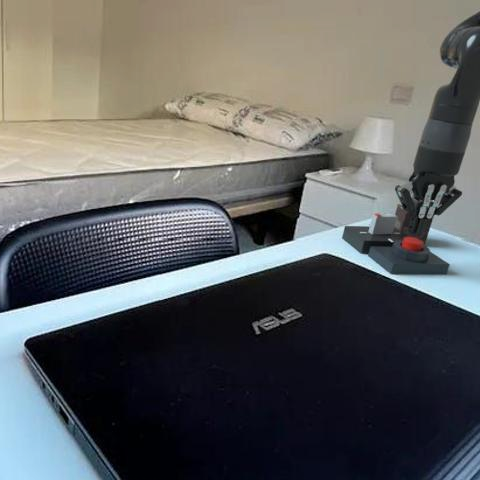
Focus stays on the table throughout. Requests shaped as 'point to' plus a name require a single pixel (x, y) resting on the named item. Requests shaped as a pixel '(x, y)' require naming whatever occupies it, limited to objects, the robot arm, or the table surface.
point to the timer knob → (382, 224)
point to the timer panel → (369, 238)
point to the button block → (407, 260)
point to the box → (404, 221)
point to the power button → (412, 244)
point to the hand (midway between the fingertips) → (415, 234)
